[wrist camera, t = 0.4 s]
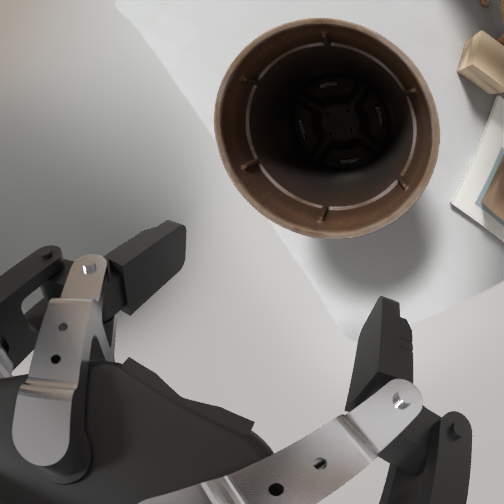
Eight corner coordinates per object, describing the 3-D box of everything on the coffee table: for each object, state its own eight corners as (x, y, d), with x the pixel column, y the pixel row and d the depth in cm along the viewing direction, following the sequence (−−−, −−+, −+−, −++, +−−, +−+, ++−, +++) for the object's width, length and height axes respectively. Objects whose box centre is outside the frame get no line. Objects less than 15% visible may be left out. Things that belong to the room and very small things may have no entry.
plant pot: (424, 169, 29) (464, 209, 15) (307, 203, 37) (266, 261, 24) (373, 44, 24) (375, -10, 11) (256, 90, 32) (183, 80, 19)
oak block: (465, 41, 19) (481, 29, 14) (497, 64, 18) (517, 57, 13) (456, 71, 21) (472, 64, 16) (488, 94, 21) (509, 91, 16)
